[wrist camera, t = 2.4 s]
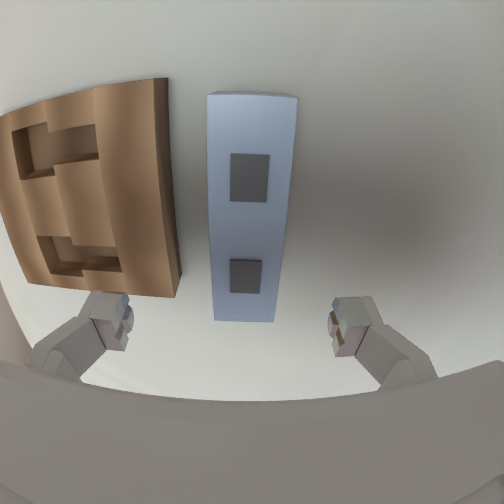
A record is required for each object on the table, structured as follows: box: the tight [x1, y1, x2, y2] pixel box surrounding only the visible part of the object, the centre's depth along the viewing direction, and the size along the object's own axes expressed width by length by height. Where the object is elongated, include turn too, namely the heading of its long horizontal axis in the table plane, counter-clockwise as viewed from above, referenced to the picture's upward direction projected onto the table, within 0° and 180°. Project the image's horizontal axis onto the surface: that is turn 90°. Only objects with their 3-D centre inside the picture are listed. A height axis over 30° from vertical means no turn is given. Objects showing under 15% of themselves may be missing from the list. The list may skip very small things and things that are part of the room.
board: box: [0, 78, 182, 298], centre depth 19 cm, size 16×16×3 cm
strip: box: [207, 91, 298, 322], centre depth 17 cm, size 4×14×5 cm, turn 178°
